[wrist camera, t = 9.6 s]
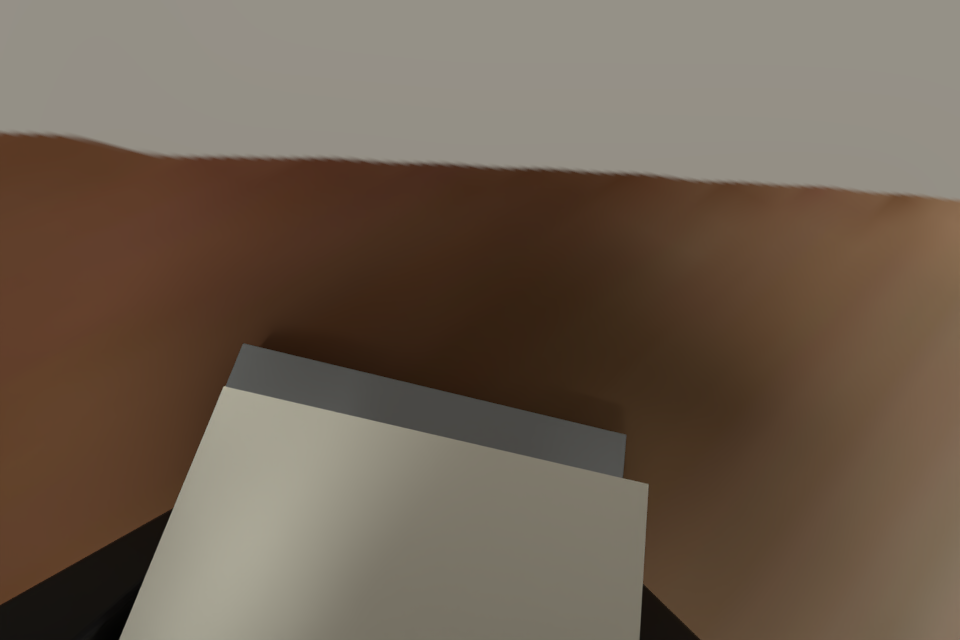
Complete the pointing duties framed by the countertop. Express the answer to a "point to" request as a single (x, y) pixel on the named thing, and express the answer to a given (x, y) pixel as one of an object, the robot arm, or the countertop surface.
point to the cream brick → (386, 537)
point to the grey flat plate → (427, 410)
